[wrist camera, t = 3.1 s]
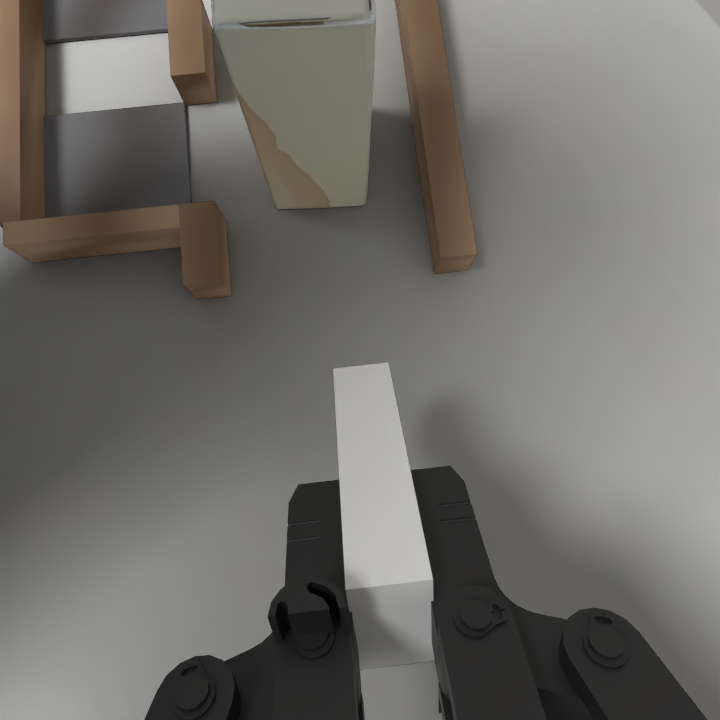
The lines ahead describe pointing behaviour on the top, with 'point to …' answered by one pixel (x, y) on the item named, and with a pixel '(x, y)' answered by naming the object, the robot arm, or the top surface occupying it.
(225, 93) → the top surface
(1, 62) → the brown green flat frame
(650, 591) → the top surface
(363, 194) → the box
